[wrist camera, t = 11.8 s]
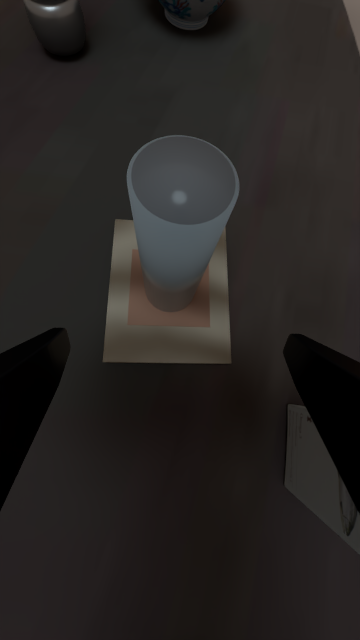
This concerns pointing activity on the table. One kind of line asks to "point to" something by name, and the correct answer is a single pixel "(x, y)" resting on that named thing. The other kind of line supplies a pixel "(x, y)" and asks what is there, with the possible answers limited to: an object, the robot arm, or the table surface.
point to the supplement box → (318, 478)
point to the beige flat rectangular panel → (165, 327)
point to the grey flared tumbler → (179, 213)
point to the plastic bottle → (57, 25)
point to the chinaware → (189, 12)
